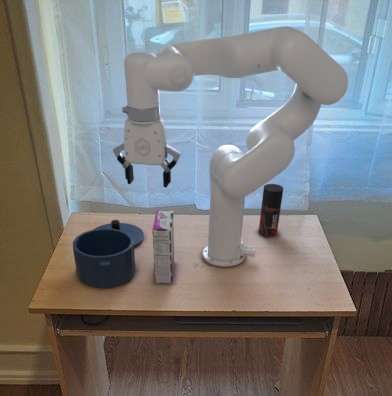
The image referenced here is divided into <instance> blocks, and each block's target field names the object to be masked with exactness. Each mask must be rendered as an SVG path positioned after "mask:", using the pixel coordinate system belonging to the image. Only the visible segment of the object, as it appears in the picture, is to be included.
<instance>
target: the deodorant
mask: <svg viewBox="0 0 392 396" xmlns="http://www.w3.org/2000/svg"><path fill="white" fill-rule="evenodd" d="M262 190H263V191H262V199H261V206H260V207H261V208H260V216H259V224H258V225H259V226H258V234H259V236H261V237H263V238H274V237H276V236H277V235H278V230H279V222H280V216H281V206H282V201H283V193H284V187H283V186H282V185H280V184H278V183H277V184H276V183H268V184H267V183H266V184H264V185H263V189H262Z"/></svg>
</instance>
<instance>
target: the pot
mask: <svg viewBox="0 0 392 396" xmlns="http://www.w3.org/2000/svg"><path fill="white" fill-rule="evenodd" d="M97 227H98V229H95V228H94V229H95V230H93V229H91V230H87V231H85V232H82V233H80V234H78V235H77V236H76V237H75V238H74V239H73V241H72V251H73V257H74V264H75V265H74V266H75V269H76V270H75V271H76V276H77V279H78V281H80V282H81V283H82V284H83V285H85V286H87V287H90V288H94V289H113V288H117V287H118V288H119V287H121V286H123V285H126V284H127V283H129V282H130V281H131V280H132V279H134V277H135V275H136V260H135V259H136V258H135V257H136V256H135V246H134V242H133V238H132V237H131V236H130V235H129V234H128V233H126V232H124V231H121V230H117V229H107V227H106V226H104V227H99V226H97Z"/></svg>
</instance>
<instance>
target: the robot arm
mask: <svg viewBox="0 0 392 396" xmlns="http://www.w3.org/2000/svg"><path fill="white" fill-rule="evenodd" d="M123 67H124V78H125V79H124V80H125V91H126V103H127V105H125V106H122V109H121V111H122V114H123V113H124V114H126V115H127V118H126V119H125V120H124V130H123V132H124V134H123V143H121V144H119V145H117V146H115V147H114V148H113V149H112V152H113V154H114V156H115V158H116V160H117V162H118V163H119V164H120V165H121V166H122V168H123V169H124V174H125V180H126V182H127V185H131V184H132V183H133V182H134V180H135V176H134V166H133V164H134V165H145V166H161V168H162V169H163V171H162V185H163V188H165V189H167V188H168V186H169V185H170V184H171V182H172V172H171V170H172V169H173V168H174V167H175V166H176V165H177V163H178V161H179V159H180V157H181V155H182V154H181V152H180V151H178V150H177V149H175V148H173V147H171V146H170V145H168V141H167V134H166V128H165V122H164V119H163V118H162V117H161V109H160V108H161V107H160V105H161V104H160V103H161V102H160V91H168V92H182V91H185V90H187V89H188V88H189V87H191V85H192V83H193V81H194V79H195V77H196V76H197V77H198V76H209V75H210V76H219V77H222V78H226V79H242V78H247V77H250V76H251V77H252V76H256V75H260V74H265V73H270V72H275V71H281V72H282V73H283V74H285V75H286V76H287V77H289V79H291V80H292V82H294V83H295V86H294V89H293V92H292V94H291V96H290V98H289V99H288V100H287V101H286V102H285V103H284V104H283V105H282V106H281V107H279V108H278V109H277V110H275V111H274V112H273V113H271V114H270V115H268V116H267V117H265V118H264V119H263V120H261V121H260V122H258V123H257V124H256V125H255V126H253V127H252V128H251V129H250V130H249V132H248V133H247V136H246V139H245V143H246V144H245V145H246V149H247V150H248V151H247V152H245V153H244V152H243V150H241V148H239V147H238V146H236V145H233V144H224V145H220V146H219V147H218V148H216V149H215V151H214V152H213V153H212V155H211V157H210V160H209V167H208V168H209V169H208V171H209V190H210V191H209V192H210V193H209V216H208V217H209V218H208V236H207V237H208V240H207V246H206V247H204V248H203V250H202V252H201V253H202V258H203V260H204V261H205V262H206V263H208V264H209V265H212V266H216V267H223V268H229V267H235V266H238V265H240V264H241V263H243V262H244V261H245V258H246V256H247V257H255V256H256V249H253V246H252V245H245V244H243V243H244V242H243V239H242V234H243V223H244V211H245V203H246V197H247V196H249V195H251V194H253V193H254V192H256V191H257V190H259V189H260V188H262V187H264V186H265V185H267V183H269V182H270V181H271V180H272V179H274V178H276V177H277V176H279V175H280V174H281V173H282V172H284V171H285V170H286V169H287V168H288V167H289V166H290V164H291V163H292V161H293V158H294V156H295V151H296V145H295V142H294V141H295V140H296V139H298V138H299V137H300V136H302V134H304V133H305V132H306V131H308V130H309V128H310V127H311V126H312V125H313V124H314V122H315V121H316V119H317V117H318V114H319V112H320V110H321V107H322V105H323V106H330V105H334V104H337V103H338V102H339V101H340V100H341V99H343V97H344V96H345V95H346V92H347V90H348V87H349V78H348V74H347V72H346V70H345V69H344V67H343V66H342V65H340V63H338V62H337V61H336V60H335V59H334V58H333V57H332V56H331V55H330V54H328V53H327V52H326V51H325V50H324V49H323V48H322V47H321V46H319V44H318V43H317V42H316V41H315V40H314V39H313V38H311V37H310V36H309V35H308V34H306V33H305V32H303V31H301V30H299V29H297V28H294V27H292V26H287V25H285V26H279V27H277V26H276V27H272V28H267V29H263V30H257V31H252V32H248V33H243V34H237V35H232V36H221V37H214V38H205V39H204V38H203V39H197V40H196V39H195V40H190V41H183V42H179V43H175V44H174V43H173V44H170V45H166V46H164V47H163V48H161V49H160V50H159V51H158V53H157V54H156V55H155V54H154V53H152V52H146V51H142V52H141V51H138V52H135V51H134V52H130V53H128V54H126V55H125V57H124V60H123ZM122 151H123V153H124V155H123V154H122ZM168 155H170V156H171V157H172V160H171V161H169V159H168Z"/></svg>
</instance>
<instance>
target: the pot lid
mask: <svg viewBox="0 0 392 396" xmlns="http://www.w3.org/2000/svg"><path fill="white" fill-rule="evenodd" d="M104 226H106V227H107V229H117V230H121V231H124V232H126V233H128V234H129V235H130V236H131V237H132V238H133V242H134V247H136V246H138V245H140V244H141V243H142V242H143V240H144V239H145V233H144V231H143V229H142V228H141V227H138V226H136V225H134V224H131V223H126V222H120V220H118V219H113V220H110V223H105V224H102V225H99V226H96V227H95V228H92V230H95V229H98V227H104Z"/></svg>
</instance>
